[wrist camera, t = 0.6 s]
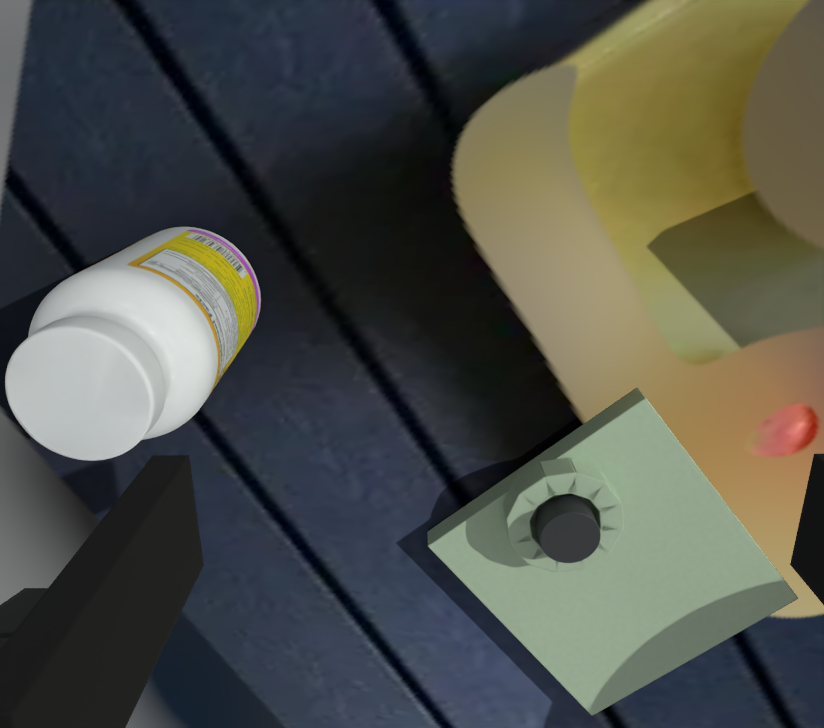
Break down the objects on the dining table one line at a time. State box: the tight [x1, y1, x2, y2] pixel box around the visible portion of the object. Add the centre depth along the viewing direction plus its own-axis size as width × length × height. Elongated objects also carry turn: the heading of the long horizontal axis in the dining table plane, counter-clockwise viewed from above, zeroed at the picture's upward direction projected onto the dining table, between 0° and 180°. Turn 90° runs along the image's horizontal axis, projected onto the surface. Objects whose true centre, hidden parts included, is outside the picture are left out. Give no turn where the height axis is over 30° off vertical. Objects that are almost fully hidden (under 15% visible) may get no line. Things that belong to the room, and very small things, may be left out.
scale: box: [427, 388, 798, 716], centre depth 38 cm, size 16×14×3 cm
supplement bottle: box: [5, 227, 261, 460], centre depth 28 cm, size 7×7×13 cm
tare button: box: [535, 496, 601, 563], centre depth 34 cm, size 3×3×2 cm
